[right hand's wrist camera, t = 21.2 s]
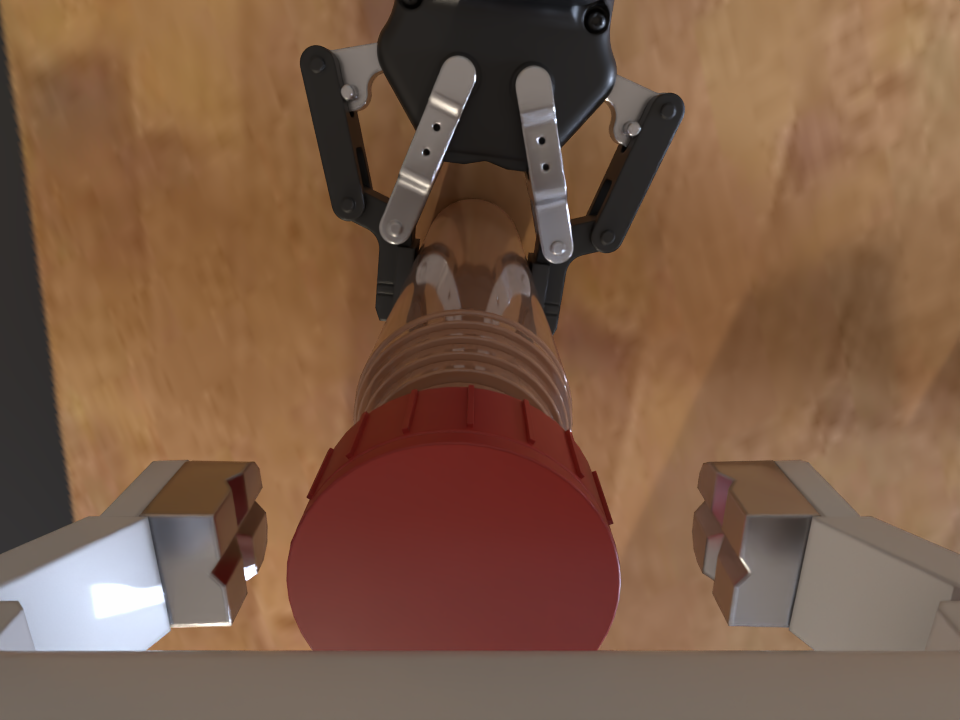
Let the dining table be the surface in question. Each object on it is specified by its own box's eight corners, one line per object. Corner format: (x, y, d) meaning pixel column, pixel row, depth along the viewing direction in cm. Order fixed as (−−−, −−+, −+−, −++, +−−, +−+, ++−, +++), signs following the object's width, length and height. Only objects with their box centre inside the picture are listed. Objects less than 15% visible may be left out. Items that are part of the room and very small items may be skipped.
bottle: (454, 180, 31) (383, 349, 8) (536, 228, 32) (683, 505, 9) (410, 263, 32) (242, 606, 9) (490, 307, 33) (511, 723, 10)
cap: (644, 568, 10) (675, 653, 9) (400, 663, 11) (386, 758, 10) (529, 332, 9) (540, 380, 7) (260, 457, 10) (214, 526, 8)
